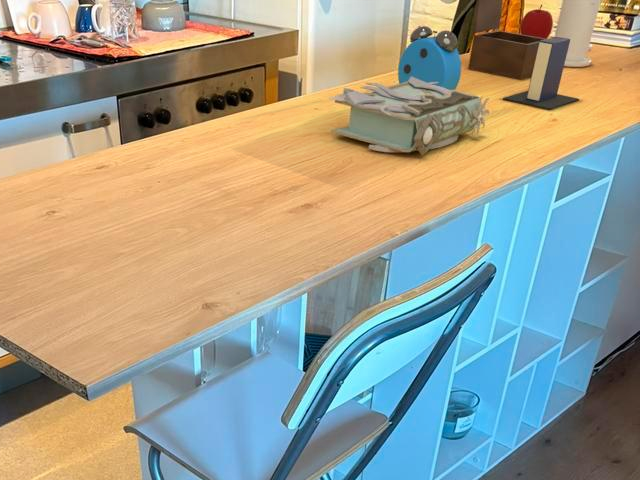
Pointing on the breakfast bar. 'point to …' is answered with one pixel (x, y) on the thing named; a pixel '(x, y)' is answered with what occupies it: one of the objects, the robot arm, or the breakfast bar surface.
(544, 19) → the apple
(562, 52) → the book
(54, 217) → the breakfast bar surface
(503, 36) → the chest
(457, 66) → the alarm clock
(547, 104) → the mat
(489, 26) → the lid
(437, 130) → the ornate book
